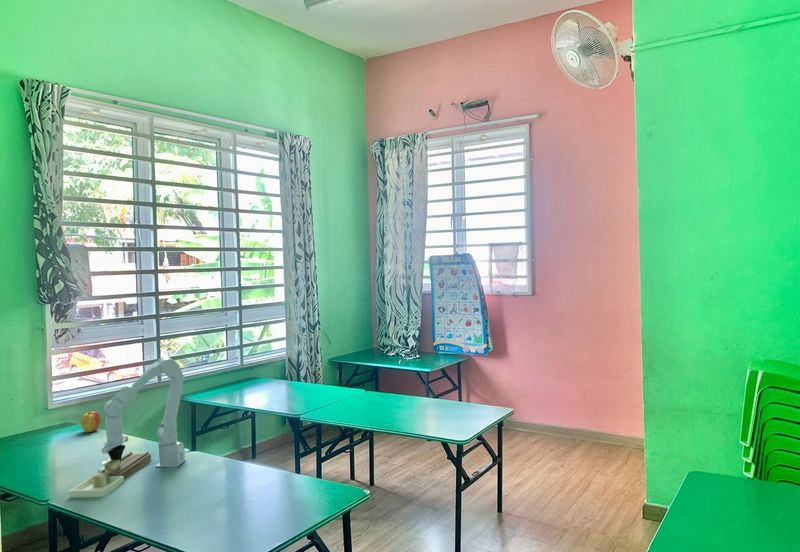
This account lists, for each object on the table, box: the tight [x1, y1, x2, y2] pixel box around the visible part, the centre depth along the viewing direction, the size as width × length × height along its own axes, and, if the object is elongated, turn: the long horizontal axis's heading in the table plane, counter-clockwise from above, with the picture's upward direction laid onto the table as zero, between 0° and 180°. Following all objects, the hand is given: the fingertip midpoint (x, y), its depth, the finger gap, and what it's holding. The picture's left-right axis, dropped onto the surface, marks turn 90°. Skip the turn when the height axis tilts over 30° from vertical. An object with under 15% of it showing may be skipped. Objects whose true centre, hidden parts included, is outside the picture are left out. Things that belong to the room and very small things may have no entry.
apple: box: [80, 411, 102, 433], centre depth 288 cm, size 9×9×10 cm
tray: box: [68, 475, 125, 498], centre depth 213 cm, size 13×13×2 cm
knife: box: [98, 459, 111, 472], centre depth 237 cm, size 30×2×8 cm
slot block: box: [97, 451, 152, 481], centre depth 231 cm, size 10×22×4 cm, turn 175°
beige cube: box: [103, 459, 121, 474], centre depth 222 cm, size 4×4×4 cm
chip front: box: [91, 473, 110, 487], centre depth 216 cm, size 4×4×4 cm
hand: (116, 465), depth 225 cm, fingers closed
